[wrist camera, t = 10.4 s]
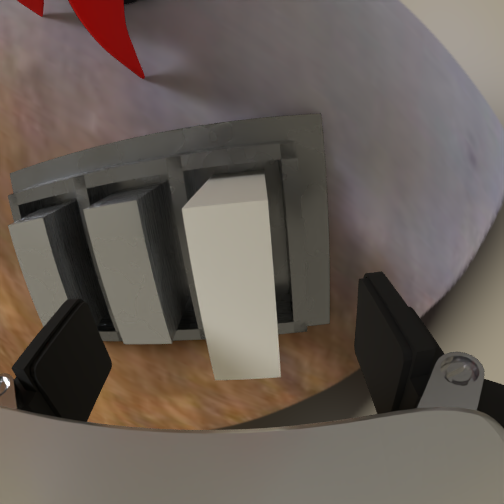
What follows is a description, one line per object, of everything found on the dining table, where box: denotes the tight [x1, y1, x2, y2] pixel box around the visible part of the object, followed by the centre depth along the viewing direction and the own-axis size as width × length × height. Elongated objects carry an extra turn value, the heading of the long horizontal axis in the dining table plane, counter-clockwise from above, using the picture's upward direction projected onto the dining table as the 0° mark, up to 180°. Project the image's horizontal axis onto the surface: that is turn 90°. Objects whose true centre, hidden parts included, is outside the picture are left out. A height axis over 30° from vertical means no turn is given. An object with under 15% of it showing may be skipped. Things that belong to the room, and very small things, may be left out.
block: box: [182, 170, 281, 380], centre depth 16 cm, size 8×3×8 cm, turn 5°
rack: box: [8, 114, 330, 344], centre depth 18 cm, size 14×22×6 cm, turn 96°
